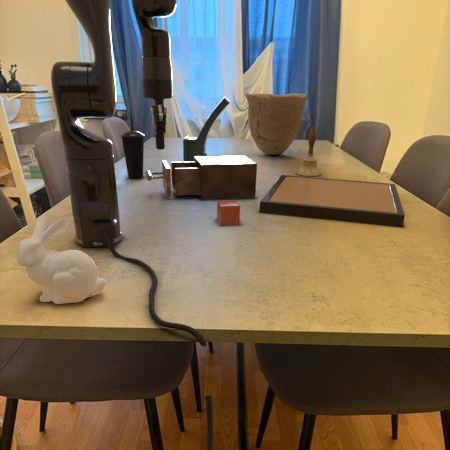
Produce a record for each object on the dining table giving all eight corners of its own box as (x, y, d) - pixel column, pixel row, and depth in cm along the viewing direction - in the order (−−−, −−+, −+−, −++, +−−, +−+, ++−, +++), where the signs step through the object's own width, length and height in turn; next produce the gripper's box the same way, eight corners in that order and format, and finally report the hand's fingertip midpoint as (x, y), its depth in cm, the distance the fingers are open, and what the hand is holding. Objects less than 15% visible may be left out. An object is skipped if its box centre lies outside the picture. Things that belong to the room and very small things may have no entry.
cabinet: (201, 200, 122) (201, 164, 117) (194, 189, 133) (194, 156, 128) (255, 198, 125) (257, 163, 121) (243, 188, 136) (245, 155, 132)
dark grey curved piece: (228, 168, 163) (229, 97, 152) (182, 166, 164) (181, 96, 153) (229, 163, 173) (231, 96, 161) (186, 161, 174) (185, 94, 162)
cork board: (402, 226, 105) (393, 193, 135) (404, 215, 103) (394, 183, 134) (259, 212, 113) (280, 183, 143) (259, 201, 111) (281, 174, 142)
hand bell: (296, 175, 155) (300, 128, 147) (298, 171, 162) (302, 125, 154) (319, 177, 153) (325, 129, 145) (320, 172, 160) (326, 126, 153)
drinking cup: (119, 178, 144) (113, 113, 135) (133, 174, 150) (129, 111, 141) (137, 181, 141) (133, 114, 132) (151, 176, 147) (148, 113, 138)
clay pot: (233, 150, 200) (235, 91, 189) (288, 149, 208) (293, 91, 196) (255, 161, 177) (258, 94, 166) (315, 159, 185) (323, 95, 173)
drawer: (148, 198, 119) (146, 168, 115) (145, 188, 129) (144, 160, 125) (218, 195, 123) (218, 167, 119) (210, 186, 133) (210, 159, 129)
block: (239, 224, 103) (240, 205, 101) (220, 225, 102) (221, 206, 100) (234, 218, 107) (235, 200, 105) (216, 219, 106) (217, 201, 104)
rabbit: (21, 305, 66) (4, 230, 60) (44, 279, 74) (31, 211, 69) (100, 307, 66) (90, 232, 60) (114, 281, 74) (107, 213, 69)
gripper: (140, 77, 115) (144, 145, 123) (143, 77, 103) (148, 153, 111) (169, 77, 116) (171, 145, 124) (175, 78, 105) (177, 152, 113)
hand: (160, 148), depth 118 cm, fingers closed
